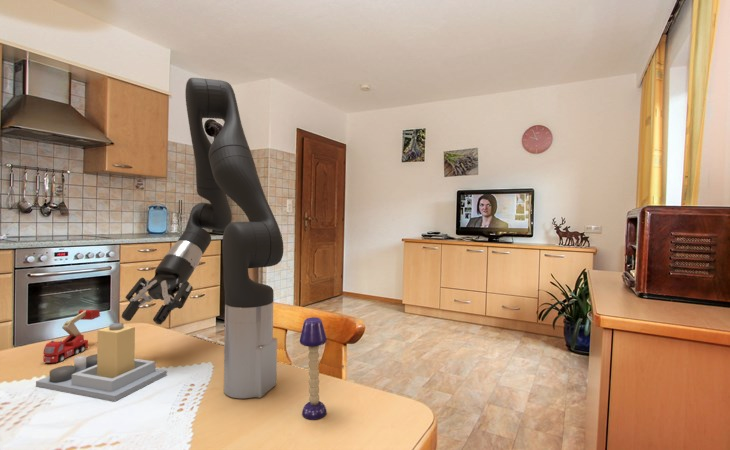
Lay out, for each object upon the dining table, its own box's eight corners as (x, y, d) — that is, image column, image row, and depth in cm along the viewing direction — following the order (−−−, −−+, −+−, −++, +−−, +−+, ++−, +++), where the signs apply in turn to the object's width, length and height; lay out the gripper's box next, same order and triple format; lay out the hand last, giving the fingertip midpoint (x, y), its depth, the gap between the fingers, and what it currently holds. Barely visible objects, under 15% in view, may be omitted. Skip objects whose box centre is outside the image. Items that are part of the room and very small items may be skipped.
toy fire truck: (40, 364, 83) (40, 322, 83) (87, 343, 97) (87, 307, 97) (55, 364, 83) (55, 322, 83) (100, 344, 97) (100, 307, 97)
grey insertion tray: (166, 375, 79) (166, 356, 79) (115, 401, 67) (115, 379, 67) (95, 363, 84) (95, 346, 84) (35, 386, 73) (36, 366, 73)
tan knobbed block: (134, 375, 76) (134, 323, 76) (116, 383, 73) (117, 328, 72) (115, 372, 78) (115, 321, 78) (97, 379, 74) (97, 326, 74)
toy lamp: (313, 424, 61) (315, 324, 61) (292, 415, 64) (294, 319, 63) (331, 411, 65) (332, 318, 65) (311, 404, 68) (312, 314, 68)
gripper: (147, 252, 91) (103, 309, 80) (196, 254, 87) (157, 314, 76) (164, 270, 96) (125, 326, 85) (211, 273, 92) (176, 332, 81)
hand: (140, 320), depth 81 cm, fingers open, 8 cm apart
